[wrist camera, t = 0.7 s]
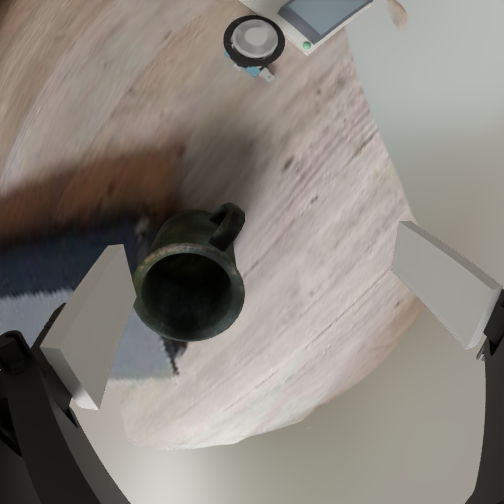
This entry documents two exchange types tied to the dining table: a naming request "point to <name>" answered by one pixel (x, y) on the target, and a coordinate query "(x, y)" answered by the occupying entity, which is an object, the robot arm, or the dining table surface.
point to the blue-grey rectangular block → (319, 15)
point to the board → (269, 3)
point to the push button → (254, 44)
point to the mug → (192, 276)
